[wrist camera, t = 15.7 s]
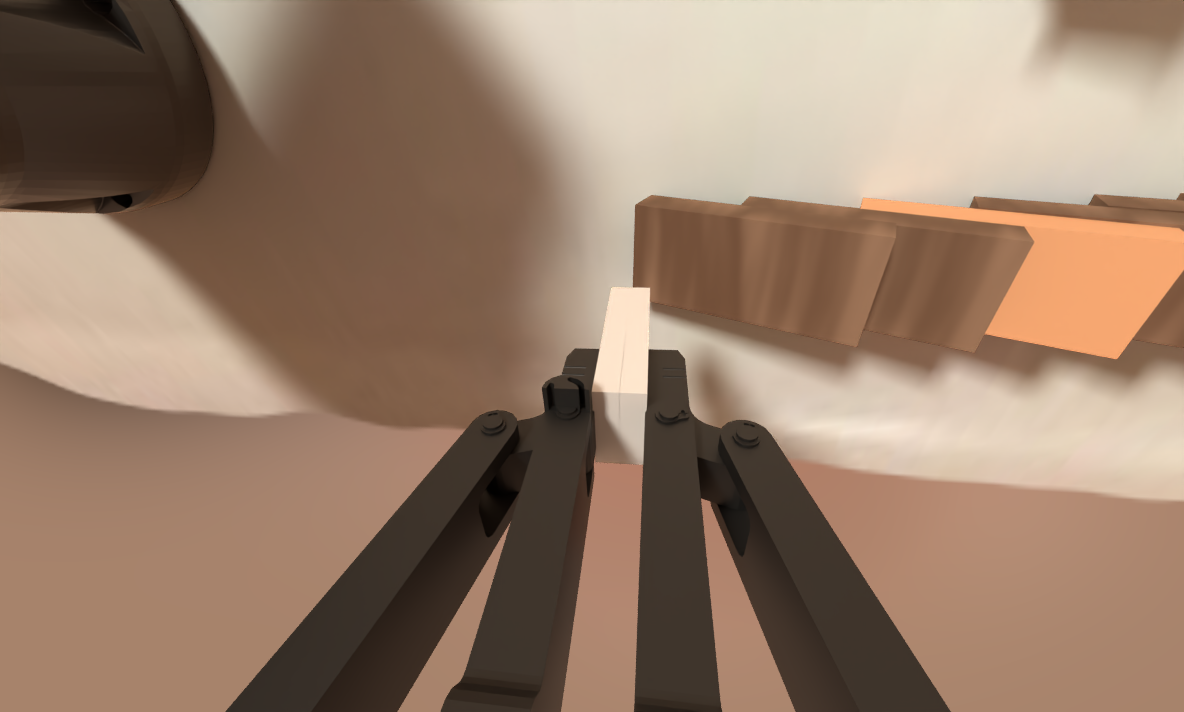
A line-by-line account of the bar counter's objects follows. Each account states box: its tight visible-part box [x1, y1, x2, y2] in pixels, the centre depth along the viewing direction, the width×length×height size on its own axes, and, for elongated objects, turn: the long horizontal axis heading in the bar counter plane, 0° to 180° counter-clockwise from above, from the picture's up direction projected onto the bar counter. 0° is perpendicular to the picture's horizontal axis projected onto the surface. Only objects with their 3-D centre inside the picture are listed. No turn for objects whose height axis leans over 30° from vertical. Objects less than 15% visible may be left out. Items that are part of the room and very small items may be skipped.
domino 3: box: [860, 198, 1184, 359], centre depth 21 cm, size 2×5×11 cm
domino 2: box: [742, 197, 1034, 353], centre depth 21 cm, size 2×5×11 cm
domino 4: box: [970, 197, 1184, 348], centre depth 20 cm, size 2×5×11 cm
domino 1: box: [633, 195, 896, 347], centre depth 22 cm, size 2×5×11 cm
